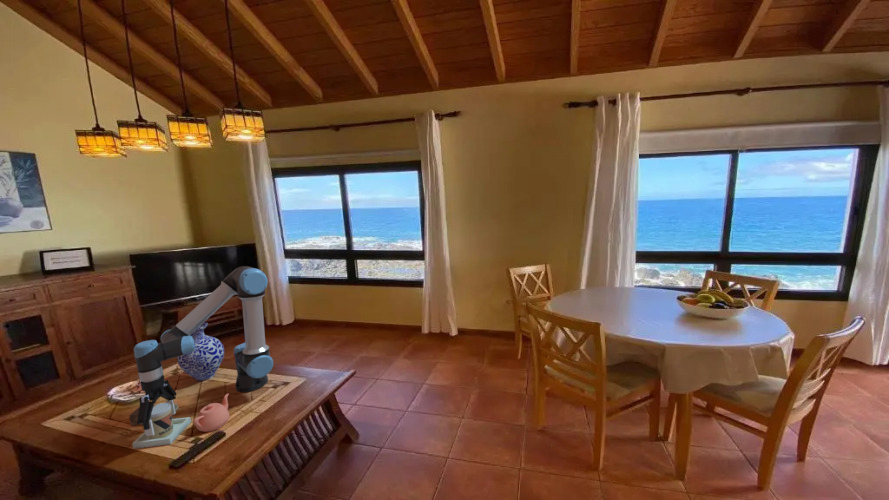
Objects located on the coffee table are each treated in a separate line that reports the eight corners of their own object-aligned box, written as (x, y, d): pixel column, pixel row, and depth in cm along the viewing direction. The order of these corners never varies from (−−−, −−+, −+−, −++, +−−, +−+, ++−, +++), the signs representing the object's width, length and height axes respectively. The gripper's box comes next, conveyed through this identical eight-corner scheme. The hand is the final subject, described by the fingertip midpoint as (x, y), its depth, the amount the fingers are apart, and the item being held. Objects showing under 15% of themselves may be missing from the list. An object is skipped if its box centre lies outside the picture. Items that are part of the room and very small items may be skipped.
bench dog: (154, 410, 165) (152, 401, 164) (138, 424, 155) (136, 414, 154) (147, 411, 164) (145, 402, 164) (131, 425, 155) (129, 415, 154)
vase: (196, 369, 204) (187, 321, 199) (234, 365, 207) (227, 317, 202) (172, 389, 183) (162, 336, 178) (215, 384, 186) (206, 332, 181)
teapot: (185, 435, 146) (181, 415, 145) (221, 409, 163) (218, 390, 162) (208, 438, 143) (204, 418, 142) (242, 411, 161) (239, 393, 159)
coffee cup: (159, 443, 140) (154, 417, 139) (141, 441, 142) (136, 414, 141) (181, 428, 149) (176, 403, 148) (164, 426, 151) (159, 401, 150)
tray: (191, 422, 155) (190, 417, 154) (170, 444, 141) (169, 438, 141) (157, 426, 153) (156, 421, 153) (133, 448, 139) (132, 443, 139)
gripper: (162, 364, 155) (171, 407, 158) (118, 396, 130) (129, 446, 134) (180, 362, 155) (188, 405, 159) (139, 393, 131) (150, 443, 134)
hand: (161, 424), depth 146 cm, fingers open, 13 cm apart
